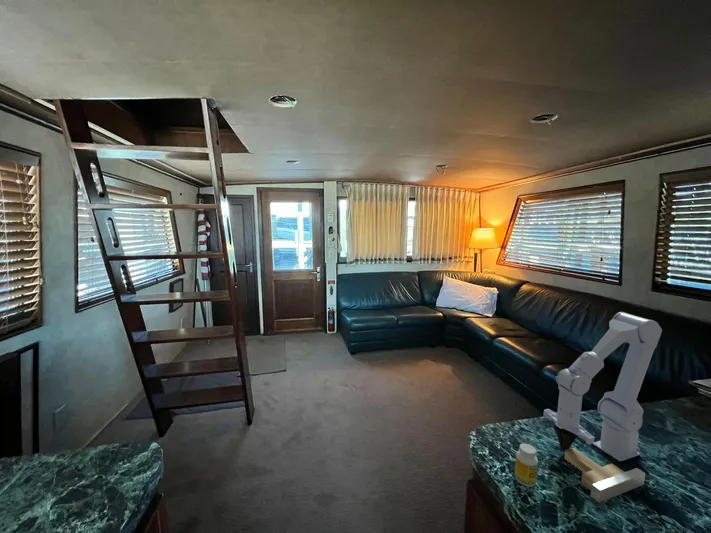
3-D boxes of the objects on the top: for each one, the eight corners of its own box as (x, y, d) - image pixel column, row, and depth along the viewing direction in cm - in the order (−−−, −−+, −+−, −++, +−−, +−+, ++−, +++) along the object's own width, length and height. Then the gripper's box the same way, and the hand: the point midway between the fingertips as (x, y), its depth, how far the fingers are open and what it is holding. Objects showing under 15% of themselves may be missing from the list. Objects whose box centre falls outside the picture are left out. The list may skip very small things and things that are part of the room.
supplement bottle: (520, 469, 89) (523, 438, 88) (539, 481, 84) (543, 450, 83) (510, 477, 86) (513, 446, 85) (529, 490, 81) (533, 458, 80)
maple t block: (582, 453, 95) (583, 444, 95) (624, 482, 85) (625, 472, 84) (554, 462, 92) (555, 453, 91) (594, 493, 81) (595, 483, 80)
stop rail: (635, 479, 86) (636, 467, 85) (643, 484, 84) (645, 473, 83) (590, 496, 80) (591, 484, 80) (598, 502, 78) (600, 490, 78)
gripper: (538, 398, 99) (534, 437, 100) (584, 426, 85) (579, 470, 87) (554, 395, 101) (550, 432, 103) (601, 421, 87) (596, 464, 89)
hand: (564, 449), depth 95 cm, fingers closed
